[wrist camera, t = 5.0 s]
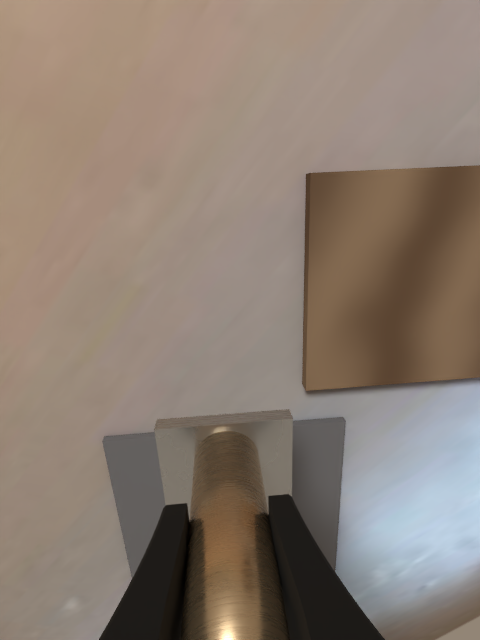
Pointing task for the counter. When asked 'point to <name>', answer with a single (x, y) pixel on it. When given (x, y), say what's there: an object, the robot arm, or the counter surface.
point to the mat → (307, 484)
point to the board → (391, 277)
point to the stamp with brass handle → (229, 519)
